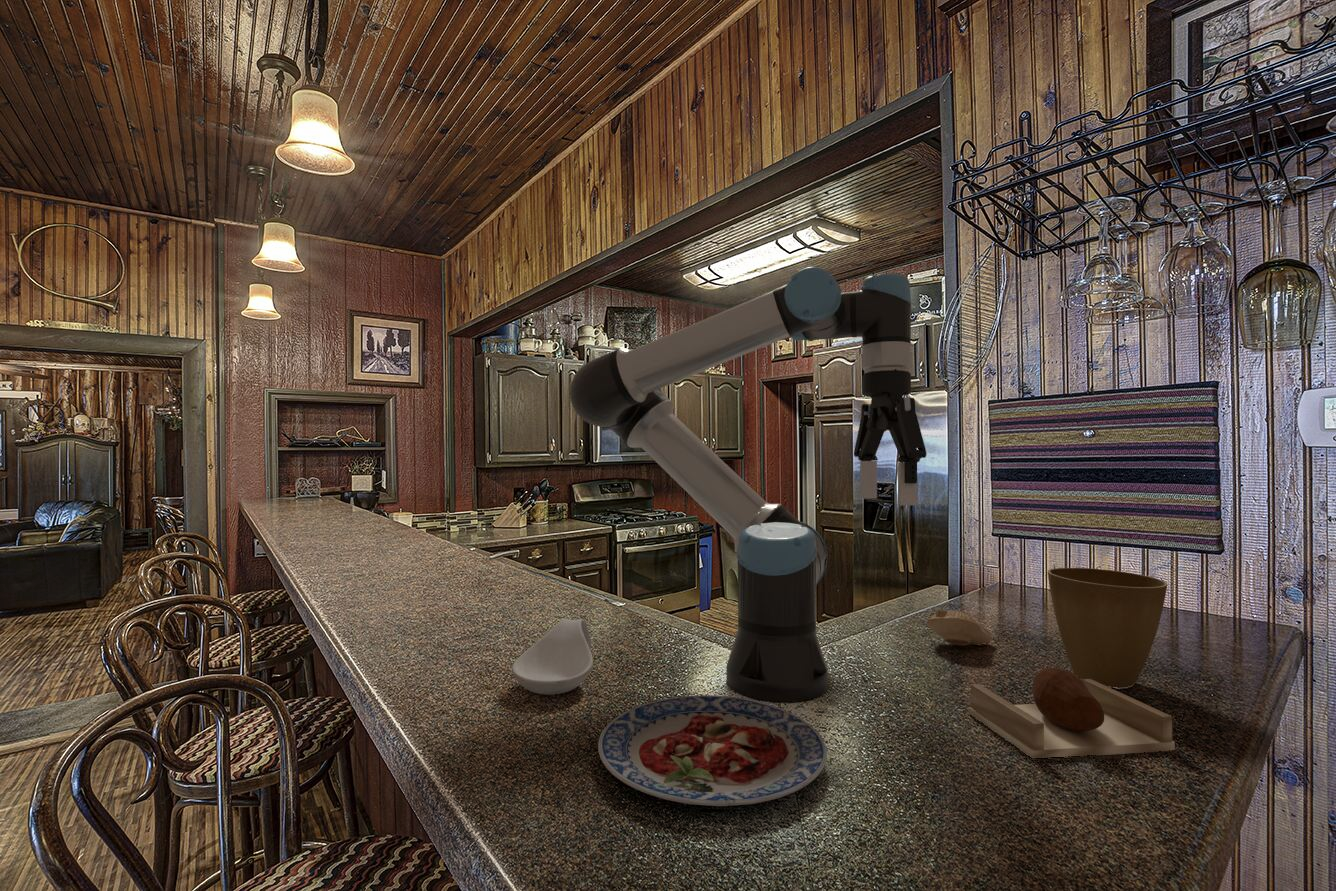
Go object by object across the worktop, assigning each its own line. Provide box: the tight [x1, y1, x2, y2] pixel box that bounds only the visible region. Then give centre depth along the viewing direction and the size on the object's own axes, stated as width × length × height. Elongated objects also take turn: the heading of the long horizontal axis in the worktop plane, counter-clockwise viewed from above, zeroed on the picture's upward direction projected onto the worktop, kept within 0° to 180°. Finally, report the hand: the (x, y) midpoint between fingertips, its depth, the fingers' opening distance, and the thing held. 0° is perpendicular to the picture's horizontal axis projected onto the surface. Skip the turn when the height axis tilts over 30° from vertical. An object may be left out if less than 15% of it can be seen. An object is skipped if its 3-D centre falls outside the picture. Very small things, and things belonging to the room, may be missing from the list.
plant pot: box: [1047, 567, 1168, 687], centre depth 94 cm, size 15×15×16 cm
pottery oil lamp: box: [926, 609, 993, 647], centre depth 111 cm, size 9×12×7 cm
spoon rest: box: [511, 618, 594, 696], centre depth 98 cm, size 24×12×7 cm, turn 177°
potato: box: [1032, 667, 1104, 731], centre depth 77 cm, size 6×12×6 cm, turn 1°
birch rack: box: [968, 679, 1176, 758], centre depth 77 cm, size 18×12×4 cm, turn 97°
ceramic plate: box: [597, 695, 828, 807], centre depth 71 cm, size 26×26×3 cm
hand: (886, 501), depth 101 cm, fingers open, 13 cm apart
